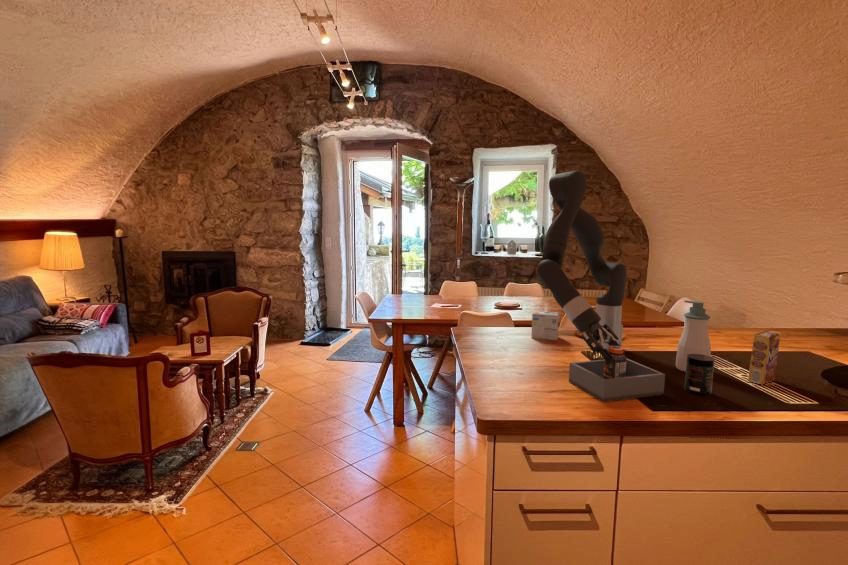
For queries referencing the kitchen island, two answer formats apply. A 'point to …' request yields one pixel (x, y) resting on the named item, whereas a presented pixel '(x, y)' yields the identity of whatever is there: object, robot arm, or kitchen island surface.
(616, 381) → the tote
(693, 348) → the soap bottle
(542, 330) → the light bulb box
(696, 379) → the supplement container
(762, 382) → the candy box
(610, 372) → the pill bottle
